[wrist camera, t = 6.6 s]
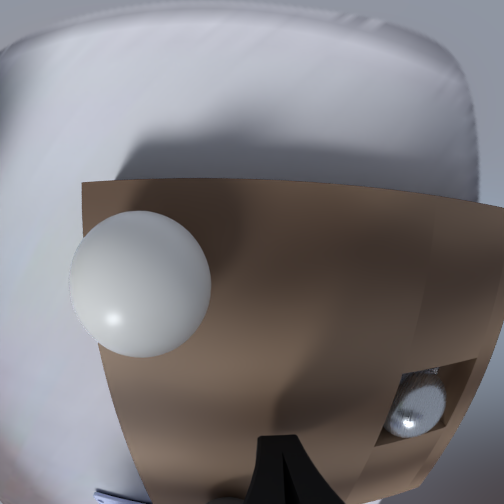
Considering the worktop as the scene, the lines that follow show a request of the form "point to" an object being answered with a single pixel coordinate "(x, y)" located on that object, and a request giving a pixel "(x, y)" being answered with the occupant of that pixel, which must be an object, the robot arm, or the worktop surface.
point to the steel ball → (416, 404)
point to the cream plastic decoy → (140, 284)
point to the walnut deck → (307, 330)
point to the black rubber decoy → (226, 501)
